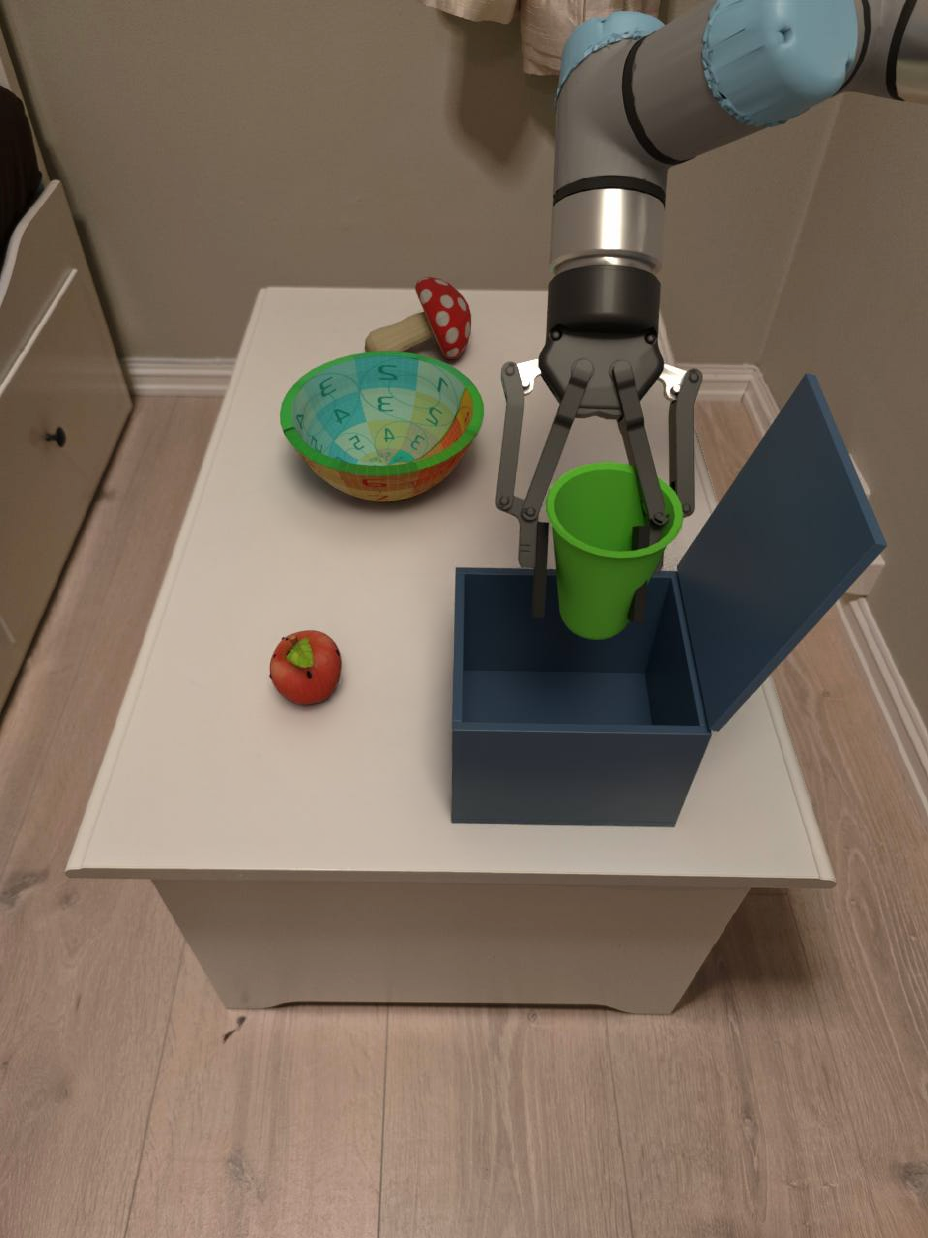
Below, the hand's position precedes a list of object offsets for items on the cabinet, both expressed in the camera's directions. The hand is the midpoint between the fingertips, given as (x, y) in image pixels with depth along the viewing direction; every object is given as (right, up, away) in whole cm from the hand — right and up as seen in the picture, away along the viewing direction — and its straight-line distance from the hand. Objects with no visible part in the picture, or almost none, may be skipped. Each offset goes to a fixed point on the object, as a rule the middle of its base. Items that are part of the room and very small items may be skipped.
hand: (587, 618), depth 62 cm
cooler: (0, -11, +20) cm, 23 cm away
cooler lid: (+12, +4, +1) cm, 13 cm away
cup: (+1, 0, +5) cm, 5 cm away
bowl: (-18, +17, +43) cm, 50 cm away
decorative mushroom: (-15, +36, +61) cm, 72 cm away
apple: (-23, -7, +23) cm, 33 cm away
